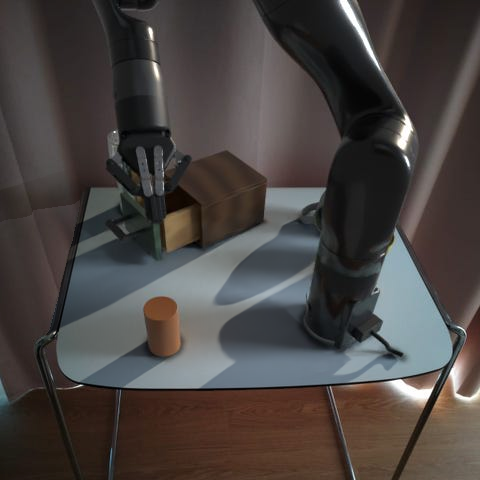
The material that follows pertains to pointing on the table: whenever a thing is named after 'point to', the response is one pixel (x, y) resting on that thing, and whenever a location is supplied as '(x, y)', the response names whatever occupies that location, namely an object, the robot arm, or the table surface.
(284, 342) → the table surface
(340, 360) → the table surface
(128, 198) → the drawer
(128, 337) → the table surface
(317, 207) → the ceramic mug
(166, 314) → the orange cylinder
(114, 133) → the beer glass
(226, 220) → the cabinet
